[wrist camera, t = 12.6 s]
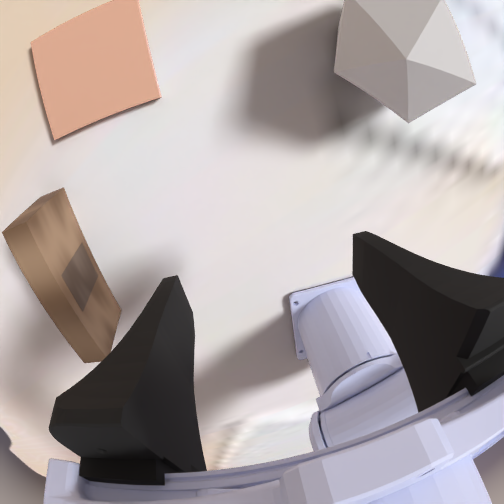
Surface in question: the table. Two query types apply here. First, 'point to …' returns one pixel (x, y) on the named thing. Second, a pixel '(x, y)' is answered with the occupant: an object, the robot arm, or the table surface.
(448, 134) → the table surface
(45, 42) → the tile
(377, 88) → the die
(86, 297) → the tapered tan wedge
